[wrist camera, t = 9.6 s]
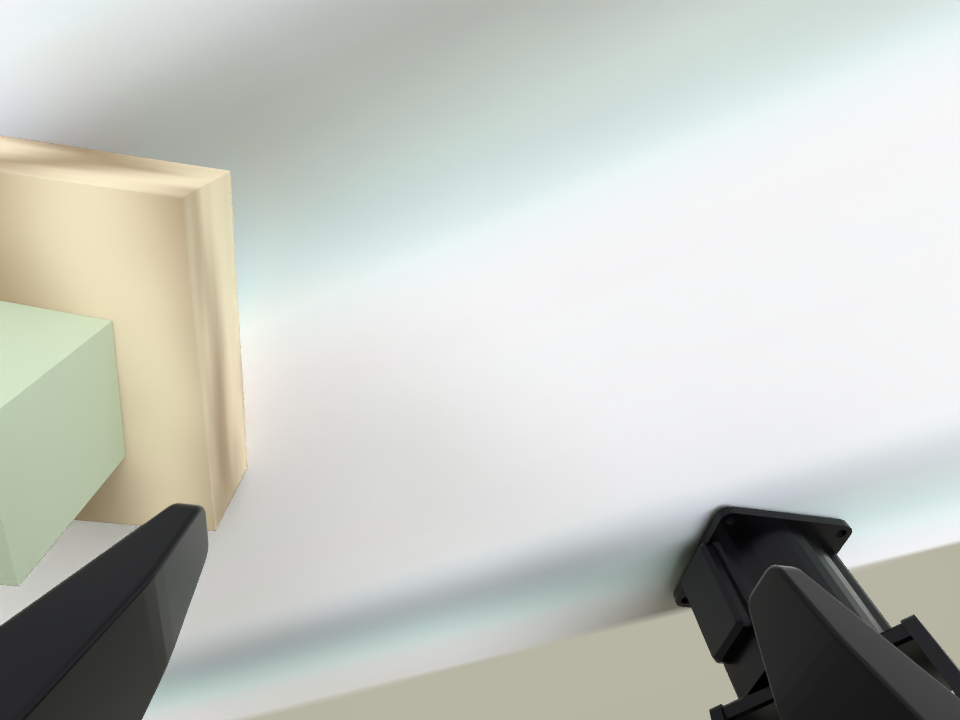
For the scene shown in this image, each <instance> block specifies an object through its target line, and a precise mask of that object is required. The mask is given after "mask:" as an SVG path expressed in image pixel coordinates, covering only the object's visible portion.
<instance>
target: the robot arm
mask: <svg viewBox="0 0 960 720" xmlns="http://www.w3.org/2000/svg"><path fill="white" fill-rule="evenodd" d="M851 533H852V529H851V528H850V526H849V525H848V524H847V523H846V522H845V521H844V520H841V519H833V518H824V517H816V516H807V515H799V514H790V513H782V512H773V511H765V510H756V509H748V508H739V507H725V508H722V509H721V510H719V511H718V512H717V514H716V516H715V517H714V519H713V521H712V523H711V525H710V527H709V528H708V530H707V532H706V534H705V536H704V538H703V540H702V541H701V543H700V545H699V547H698V549H697V551H696V552H695V554H694V556H693V558H692V560H691V562H690V563H689V565H688V567H687V569H686V571H685V573H684V575H683V576H682V578H681V580H680V582H679V584H678V586H677V587H676V589H675V591H674V594H673V596H674V598H675V601H676V603H677V605H679V606H682V607H691V608H692V610H693V612H694V615H695V617H696V619H697V622H698V624H699V627H700V629H701V632H702V634H703V636H704V638H705V641H706V643H707V646H708V648H709V650H710V652H711V655H712V657H713V658H714V660H715V661H716V662H717V663H723V664H724V666H725V669H726V671H727V673H728V676H729V678H730V680H731V682H732V685H733V687H734V689H735V691H736V694H737V696H738V699H737V700H735V701H733V702H731V703H729V704H727V705H724V706H723V705H721V704H720V705H718V706H716V707H714V708H712V709H710V710H709V711H710V716H711V720H960V670H959V668H958V667H957V666H956V664H955V663H954V662H953V661H952V660H951V658H950V657H949V656H948V655H947V654H946V652H945V651H944V650H943V649H942V648H941V646H940V645H939V644H938V643H937V642H936V640H935V639H934V638H933V637H932V636H931V634H930V633H929V632H928V631H927V629H926V628H925V627H924V626H923V625H922V623H921V622H920V621H919V620H918V619H917V617H916V616H915V615H914V614H913V615H911V616H909V617H907V618H905V619H903V620H901V621H900V622H901V624H899V625H897V626H895V627H892V628H891V626H890V625H889V623H888V622H887V621H886V620H885V618H884V617H883V616H882V614H881V613H880V612H879V610H878V609H877V608H876V606H875V605H874V604H873V602H872V601H871V600H870V598H869V597H868V596H867V594H866V593H865V592H864V590H863V589H862V588H861V586H860V585H859V584H858V582H857V581H856V580H855V579H854V577H853V576H852V574H851V573H850V572H849V570H848V569H847V568H846V566H845V565H844V564H843V562H842V561H841V560H840V558H839V557H838V556H837V553H838V552H839V550H840V549H841V548H842V546H843V545H844V543H845V542H846V541H847V539H848V538H849V537H850V535H851ZM207 552H208V533H207V521H206V512H205V509H204V507H203V506H200V505H194V504H184V503H175V504H172V505H170V506H168V507H167V508H165V509H164V510H163V511H161V512H160V513H158V514H157V515H156V516H154V517H153V518H151V519H150V520H149V521H147V522H146V523H144V524H143V525H142V526H140V527H139V528H137V529H136V530H135V531H133V532H132V533H130V534H129V535H128V536H126V537H125V538H123V539H122V540H120V541H119V542H118V543H116V544H115V545H113V546H112V547H111V548H109V549H108V550H106V551H105V552H104V553H102V554H101V555H99V556H98V557H97V558H95V559H94V560H92V561H91V562H90V563H88V564H87V565H85V566H84V567H82V568H81V569H80V570H78V571H77V572H75V573H74V574H73V575H71V576H70V577H68V578H67V579H66V580H64V581H63V582H61V583H60V584H59V585H57V586H56V587H54V588H53V589H52V590H50V591H49V592H47V593H46V594H45V595H43V596H42V597H40V598H39V599H37V600H36V601H35V602H33V603H32V604H30V605H29V606H28V607H26V608H25V609H23V610H22V611H21V612H19V613H18V614H16V615H15V616H14V617H12V618H11V619H9V620H8V621H7V622H5V623H4V624H2V625H1V626H0V720H142V718H143V716H144V714H145V712H146V710H147V708H148V706H149V704H150V702H151V699H152V697H153V695H154V693H155V691H156V689H157V687H158V685H159V683H160V681H161V678H162V676H163V674H164V672H165V670H166V667H167V665H168V663H169V660H170V657H171V655H172V652H173V649H174V647H175V644H176V641H177V638H178V636H179V633H180V630H181V627H182V625H183V622H184V619H185V616H186V613H187V611H188V608H189V605H190V602H191V599H192V597H193V594H194V591H195V588H196V586H197V583H198V580H199V577H200V574H201V572H202V569H203V566H204V563H205V560H206V557H207ZM952 690H953V692H954V693H955V694H953V693H952V692H951V691H952Z"/></svg>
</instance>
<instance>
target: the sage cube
mask: <svg viewBox="0 0 960 720" xmlns="http://www.w3.org/2000/svg"><path fill="white" fill-rule="evenodd" d="M125 456H126V455H125V445H124V435H123V425H122V415H121V405H120V395H119V385H118V375H117V364H116V354H115V344H114V334H113V324H112V321H110V320H105V319H99V318H94V317H88V316H83V315H77V314H72V313H66V312H61V311H55V310H50V309H44V308H39V307H33V306H28V305H22V304H17V303H11V302H6V301H0V584H1V585H10V586H18V587H19V586H20V584H21V583H22V582H23V581H24V580H25V578H26V577H27V576H28V575H29V573H30V572H31V571H32V570H33V569H34V567H35V566H36V565H37V564H38V562H39V561H40V560H41V559H42V558H43V556H44V555H45V554H46V553H47V551H48V550H49V549H50V548H51V547H52V545H53V544H54V543H55V542H56V540H57V539H58V538H59V537H60V536H61V534H62V533H63V532H64V531H65V529H66V528H67V527H68V526H69V525H70V523H71V522H72V521H73V520H74V518H75V517H76V516H77V515H78V514H79V512H80V511H81V510H82V509H83V507H84V506H85V505H86V504H87V503H88V501H89V500H90V499H91V498H92V496H93V495H94V494H95V493H96V492H97V490H98V489H99V488H100V487H101V485H102V484H103V483H104V482H105V481H106V479H107V478H108V477H109V476H110V474H111V473H112V472H113V471H114V470H115V468H116V467H117V466H118V465H119V463H120V462H121V461H122V460H123V459H124V457H125Z"/></svg>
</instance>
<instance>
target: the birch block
mask: <svg viewBox="0 0 960 720" xmlns="http://www.w3.org/2000/svg"><path fill="white" fill-rule="evenodd" d="M0 301H6V302H11V303H17V304H22V305H28V306H33V307H39V308H44V309H50V310H55V311H61V312H66V313H72V314H77V315H83V316H88V317H94V318H99V319H105V320H110V321H112V324H113V334H114V344H115V354H116V364H117V375H118V385H119V395H120V405H121V415H122V425H123V435H124V445H125V455H126V456H125V457H124V459H123V460H122V461H121V462H120V463H119V465H118V466H117V467H116V468H115V470H114V471H113V472H112V473H111V474H110V476H109V477H108V478H107V479H106V481H105V482H104V483H103V484H102V485H101V487H100V488H99V489H98V490H97V492H96V493H95V494H94V495H93V496H92V498H91V499H90V500H89V501H88V503H87V504H86V505H85V506H84V507H83V509H82V510H81V511H80V512H79V514H78V515H77V516H76V517H75V518H74V520H83V521H96V522H108V523H120V524H133V525H143V524H144V523H146V522H147V521H149V520H150V519H151V518H153V517H154V516H156V515H157V514H158V513H160V512H161V511H163V510H164V509H165V508H167V507H168V506H170V505H172V504H175V503H184V504H194V505H200V506H203V507H204V509H205V512H206V521H207V531H216V529H217V527H218V525H219V523H220V521H221V519H222V517H223V515H224V513H225V511H226V509H227V507H228V505H229V503H230V501H231V499H232V497H233V495H234V493H235V491H236V489H237V487H238V485H239V483H240V481H241V479H242V477H243V475H244V473H245V471H246V469H247V467H248V466H247V449H246V432H245V415H244V397H243V380H242V363H241V346H240V329H239V312H238V295H237V278H236V261H235V244H234V227H233V210H232V192H231V175H230V171H227V170H220V169H214V168H207V167H201V166H194V165H188V164H181V163H175V162H169V161H162V160H156V159H149V158H143V157H136V156H130V155H123V154H117V153H110V152H104V151H97V150H91V149H84V148H78V147H71V146H65V145H58V144H52V143H45V142H39V141H32V140H26V139H20V138H13V137H7V136H0Z"/></svg>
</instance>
